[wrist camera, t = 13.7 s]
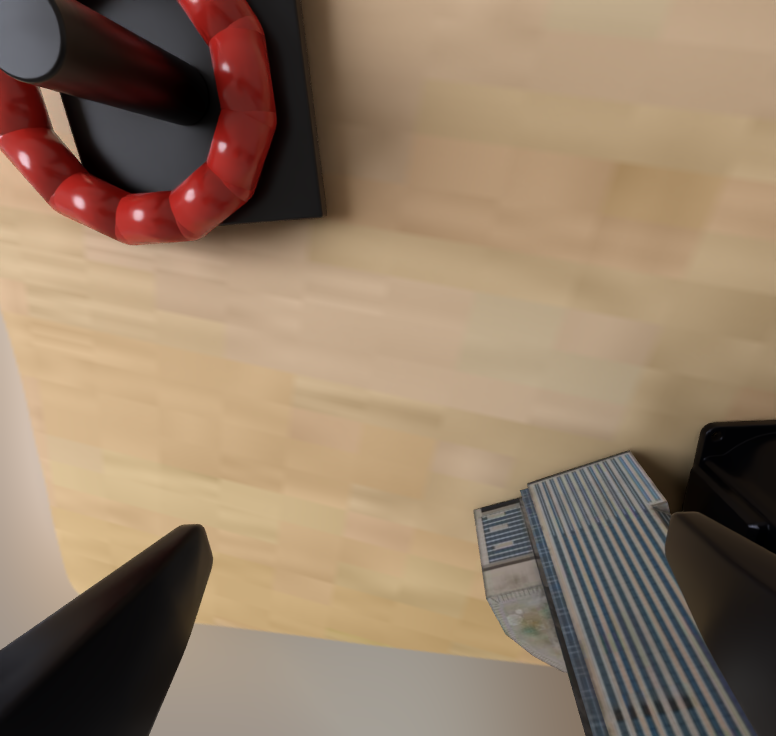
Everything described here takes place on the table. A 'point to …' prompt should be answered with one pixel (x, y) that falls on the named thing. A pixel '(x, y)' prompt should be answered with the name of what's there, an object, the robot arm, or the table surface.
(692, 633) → the building
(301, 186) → the peg
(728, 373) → the table surface
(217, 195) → the ring
